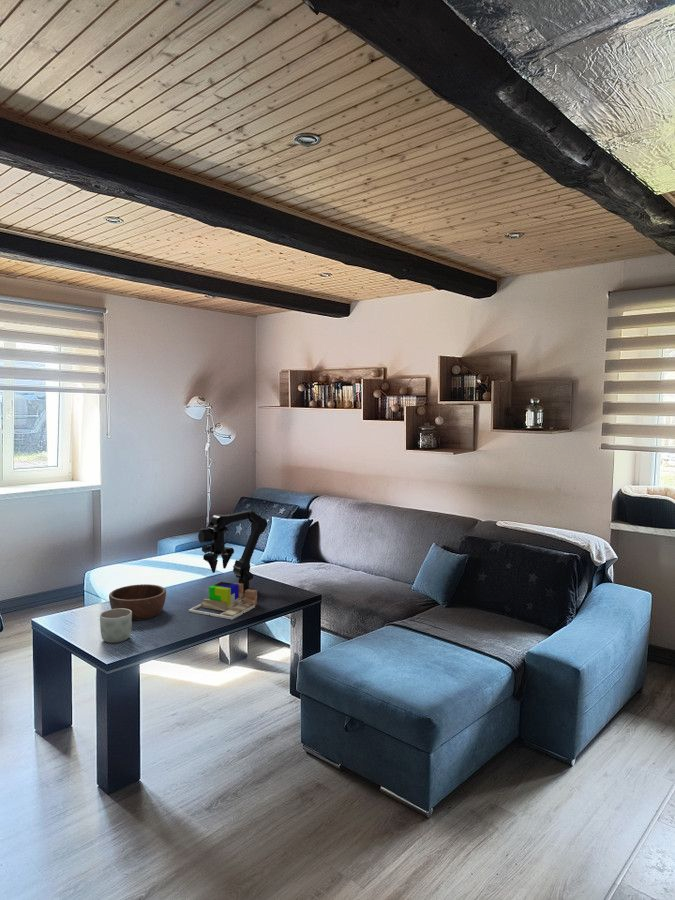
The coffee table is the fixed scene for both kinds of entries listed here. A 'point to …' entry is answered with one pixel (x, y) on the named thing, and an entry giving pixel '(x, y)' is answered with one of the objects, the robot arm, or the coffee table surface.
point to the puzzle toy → (224, 592)
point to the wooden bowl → (139, 600)
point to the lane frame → (221, 613)
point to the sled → (223, 605)
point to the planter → (116, 625)
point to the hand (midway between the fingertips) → (219, 570)
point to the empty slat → (249, 601)
